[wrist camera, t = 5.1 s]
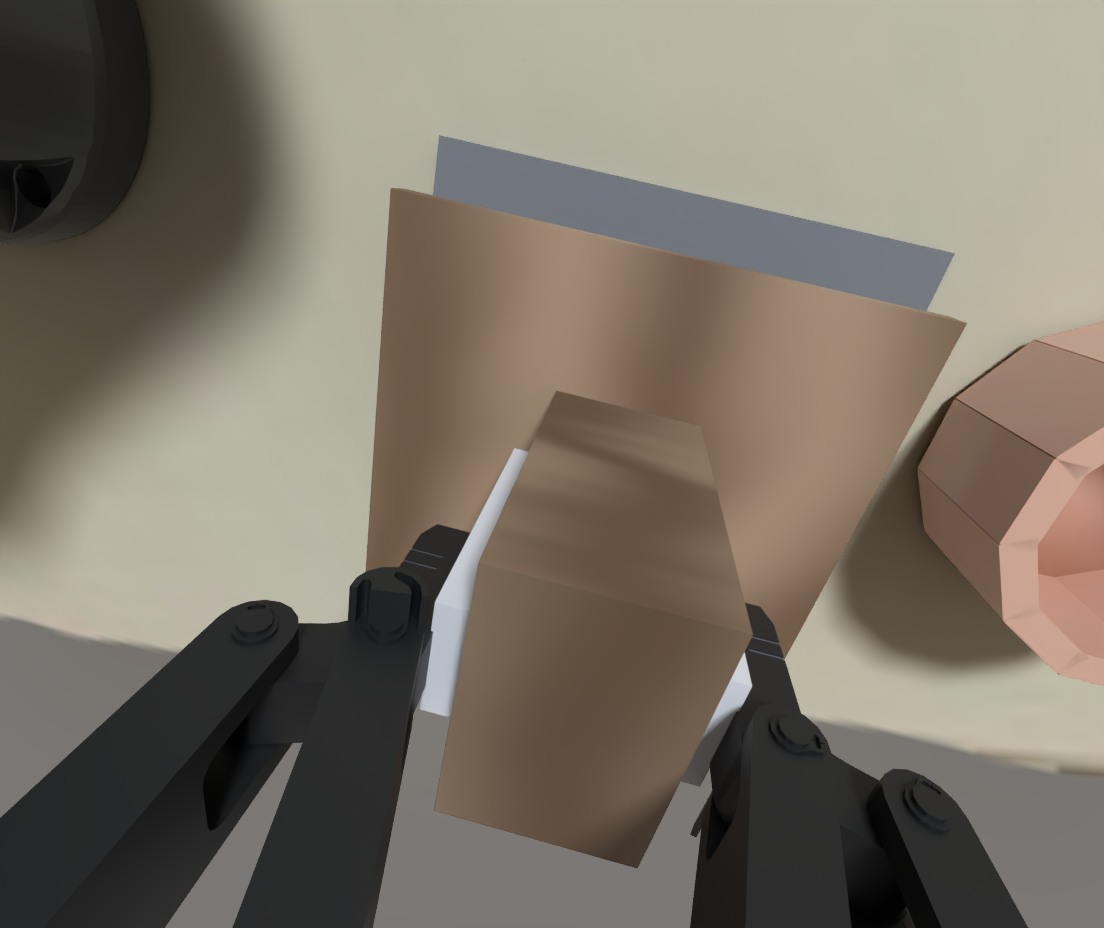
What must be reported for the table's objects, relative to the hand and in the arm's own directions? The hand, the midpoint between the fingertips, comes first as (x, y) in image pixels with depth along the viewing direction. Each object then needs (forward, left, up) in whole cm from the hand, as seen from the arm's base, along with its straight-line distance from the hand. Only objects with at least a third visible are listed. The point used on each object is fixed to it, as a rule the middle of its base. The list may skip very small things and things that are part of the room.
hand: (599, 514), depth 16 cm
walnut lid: (0, 0, -2) cm, 2 cm away
